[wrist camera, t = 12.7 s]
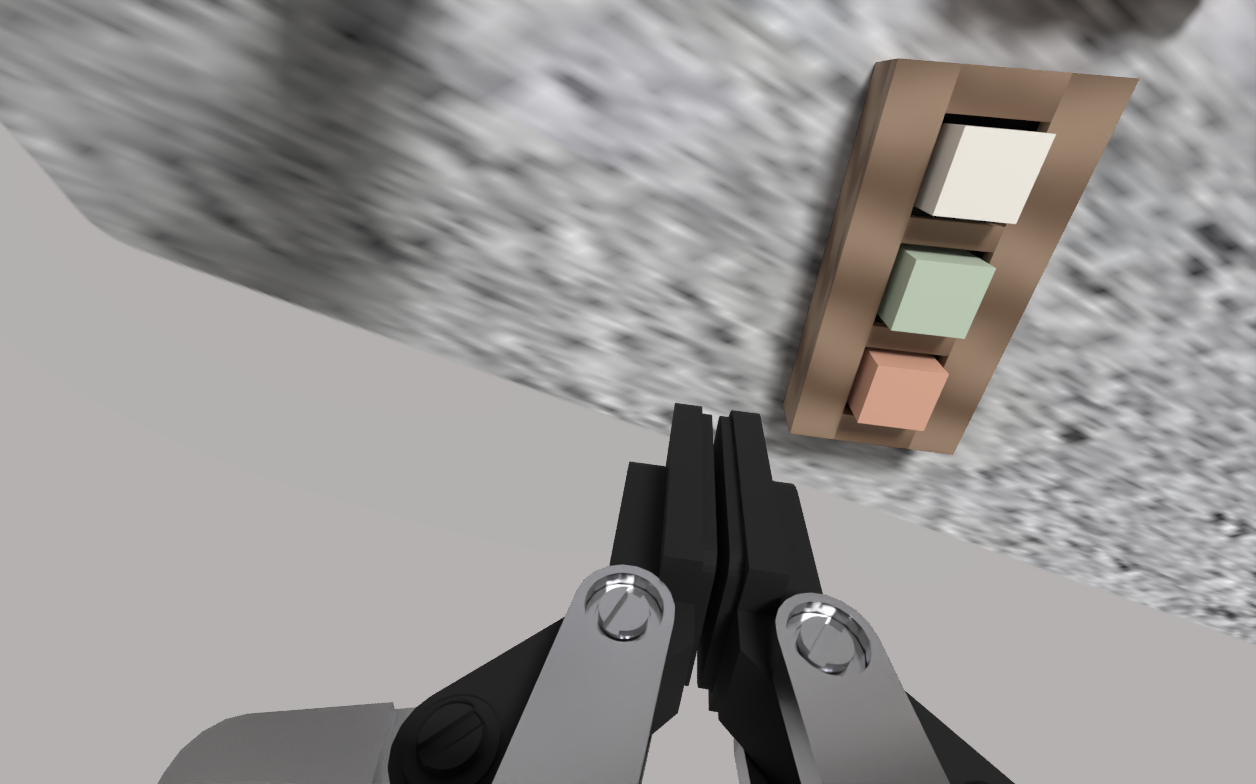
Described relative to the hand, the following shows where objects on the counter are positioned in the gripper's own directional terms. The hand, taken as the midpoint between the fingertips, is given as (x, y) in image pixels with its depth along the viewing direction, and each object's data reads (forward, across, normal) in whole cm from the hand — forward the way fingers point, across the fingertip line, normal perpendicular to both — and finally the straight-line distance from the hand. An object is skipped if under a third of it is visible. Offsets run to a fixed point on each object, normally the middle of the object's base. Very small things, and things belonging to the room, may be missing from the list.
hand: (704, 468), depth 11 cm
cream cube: (+27, -15, -4) cm, 31 cm away
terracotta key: (+27, -15, +10) cm, 33 cm away
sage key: (+27, -15, +3) cm, 31 cm away
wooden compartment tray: (+29, -15, +3) cm, 33 cm away
